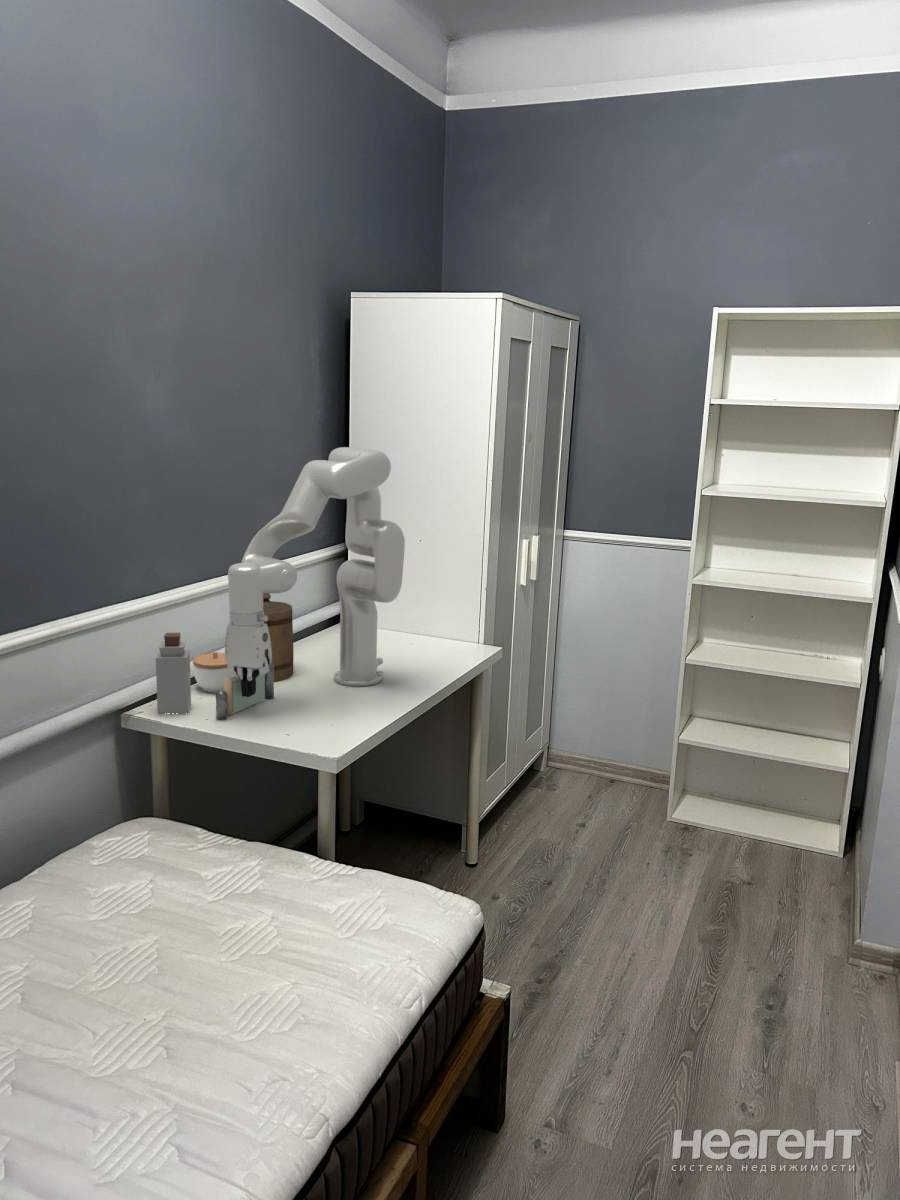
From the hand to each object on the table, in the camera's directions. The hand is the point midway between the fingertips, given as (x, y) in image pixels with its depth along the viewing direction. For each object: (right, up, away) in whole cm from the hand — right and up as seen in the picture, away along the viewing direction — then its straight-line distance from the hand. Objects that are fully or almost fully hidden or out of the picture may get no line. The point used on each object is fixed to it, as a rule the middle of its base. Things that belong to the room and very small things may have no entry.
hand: (248, 695), depth 215 cm
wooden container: (-2, +2, +31) cm, 31 cm away
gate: (-2, -3, +5) cm, 6 cm away
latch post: (-5, -5, -1) cm, 7 cm away
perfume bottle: (-18, -4, +2) cm, 18 cm away
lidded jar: (-12, 0, +18) cm, 21 cm away
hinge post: (+2, -2, +12) cm, 13 cm away
